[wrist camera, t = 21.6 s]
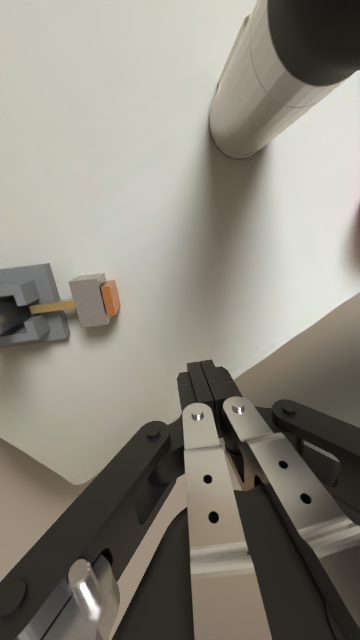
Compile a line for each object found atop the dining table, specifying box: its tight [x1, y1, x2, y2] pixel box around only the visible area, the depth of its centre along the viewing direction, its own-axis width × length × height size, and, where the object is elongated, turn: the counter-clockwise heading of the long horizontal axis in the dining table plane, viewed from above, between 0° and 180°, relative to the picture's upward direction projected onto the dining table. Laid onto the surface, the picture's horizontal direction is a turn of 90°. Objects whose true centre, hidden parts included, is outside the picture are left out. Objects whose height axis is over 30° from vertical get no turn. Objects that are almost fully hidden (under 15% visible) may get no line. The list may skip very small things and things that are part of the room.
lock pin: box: [29, 280, 120, 316], centre depth 35 cm, size 12×4×5 cm, turn 96°
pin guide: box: [69, 273, 112, 328], centre depth 36 cm, size 7×4×5 cm, turn 6°
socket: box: [0, 263, 70, 348], centre depth 35 cm, size 12×12×6 cm
